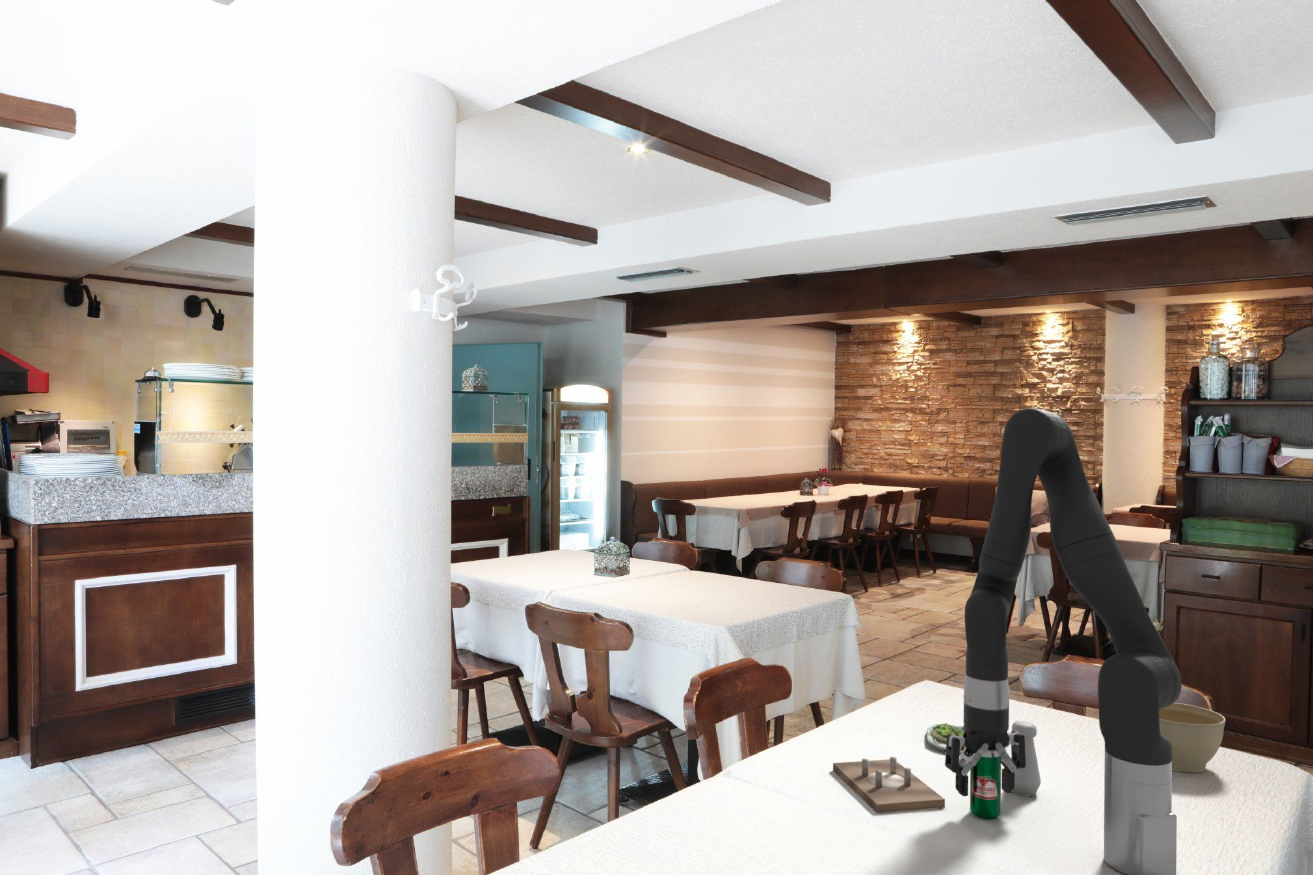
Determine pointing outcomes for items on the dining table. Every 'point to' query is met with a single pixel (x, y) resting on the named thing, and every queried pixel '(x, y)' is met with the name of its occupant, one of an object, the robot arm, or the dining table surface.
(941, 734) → the salad plate
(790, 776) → the dining table surface
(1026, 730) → the salt shaker
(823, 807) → the dining table surface
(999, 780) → the soda can
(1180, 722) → the planter bowl
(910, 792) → the pin board
